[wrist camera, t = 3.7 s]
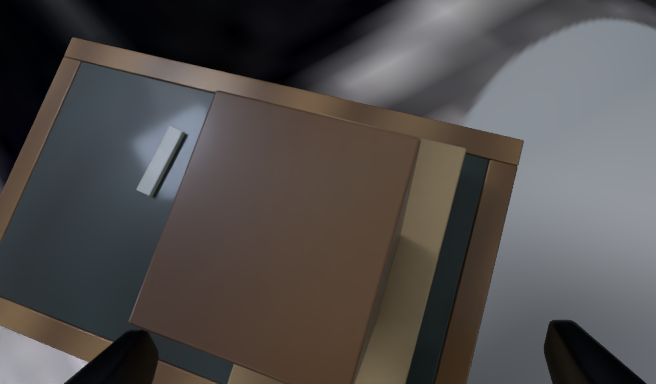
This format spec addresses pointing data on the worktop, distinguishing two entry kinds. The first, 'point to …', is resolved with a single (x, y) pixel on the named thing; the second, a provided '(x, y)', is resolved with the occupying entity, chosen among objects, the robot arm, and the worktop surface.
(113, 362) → the robot arm
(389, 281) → the eraser
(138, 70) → the chalkboard
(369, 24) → the worktop surface
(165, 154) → the light grey rectangular bar
